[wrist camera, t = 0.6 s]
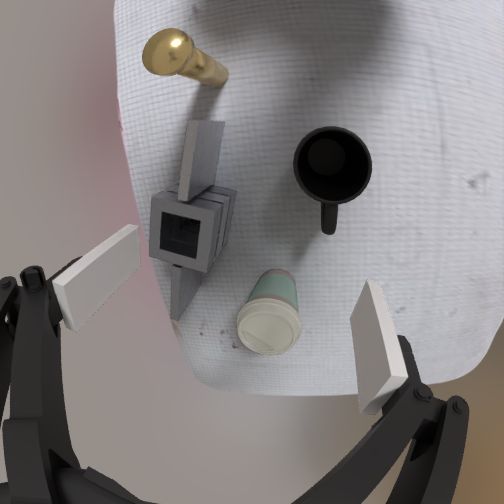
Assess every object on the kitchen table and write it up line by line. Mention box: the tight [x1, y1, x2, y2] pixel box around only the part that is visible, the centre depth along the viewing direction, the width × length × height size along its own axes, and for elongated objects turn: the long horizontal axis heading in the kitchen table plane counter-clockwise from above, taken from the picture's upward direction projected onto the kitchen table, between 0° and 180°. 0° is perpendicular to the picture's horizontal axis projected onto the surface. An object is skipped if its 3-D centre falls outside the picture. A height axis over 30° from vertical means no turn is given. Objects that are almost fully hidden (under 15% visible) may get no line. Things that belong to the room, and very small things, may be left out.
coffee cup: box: [237, 269, 302, 355], centre depth 39 cm, size 9×8×12 cm
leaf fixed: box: [149, 183, 236, 321], centre depth 39 cm, size 17×8×10 cm, turn 169°
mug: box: [293, 126, 372, 235], centre depth 31 cm, size 8×12×10 cm
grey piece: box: [165, 120, 230, 260], centre depth 34 cm, size 17×8×10 cm, turn 169°
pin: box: [142, 28, 228, 87], centre depth 25 cm, size 5×5×15 cm
